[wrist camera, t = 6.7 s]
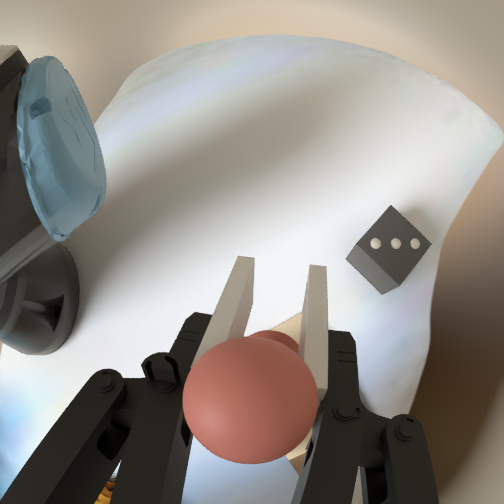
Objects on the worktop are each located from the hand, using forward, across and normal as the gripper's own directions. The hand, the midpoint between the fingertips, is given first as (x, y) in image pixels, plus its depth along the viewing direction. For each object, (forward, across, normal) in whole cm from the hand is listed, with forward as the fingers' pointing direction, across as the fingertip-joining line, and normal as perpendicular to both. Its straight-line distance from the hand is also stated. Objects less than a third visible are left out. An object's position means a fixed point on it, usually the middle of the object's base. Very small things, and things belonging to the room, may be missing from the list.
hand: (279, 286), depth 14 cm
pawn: (-1, 0, -4) cm, 4 cm away
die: (+14, +9, -6) cm, 18 cm away
